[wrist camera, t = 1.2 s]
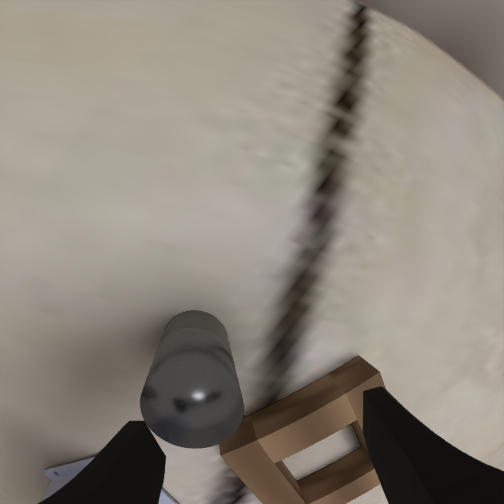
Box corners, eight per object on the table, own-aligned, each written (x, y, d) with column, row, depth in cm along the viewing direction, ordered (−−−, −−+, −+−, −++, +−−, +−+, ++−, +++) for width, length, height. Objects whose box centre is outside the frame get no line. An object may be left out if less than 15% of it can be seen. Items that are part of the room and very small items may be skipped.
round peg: (183, 380, 19) (176, 459, 11) (151, 327, 18) (120, 388, 10) (239, 353, 19) (261, 425, 11) (208, 299, 19) (212, 346, 11)
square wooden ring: (281, 506, 21) (288, 529, 18) (217, 429, 19) (220, 455, 16) (392, 446, 22) (409, 464, 19) (359, 355, 21) (379, 371, 18)
